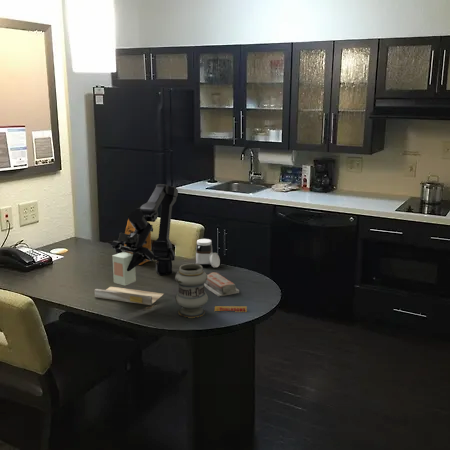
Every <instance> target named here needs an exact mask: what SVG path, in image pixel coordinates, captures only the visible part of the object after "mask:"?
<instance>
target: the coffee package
mask: <svg viewBox="0 0 450 450" xmlns="http://www.w3.org/2000/svg"><path fill="white" fill-rule="evenodd" d="M134 231H135V228H134V227H133V226H132V224H131V223H130V221H129V218H128V219H127V223H126V227H125V231H124V234H130V233H134ZM151 233H152V232H151V231H150V233H149V235H148V237H147V239H146V241H147V243H146V244H144V245H143V246H142V247H145V248H148V249H149V250H150V251H151V252H152V237H151V236H152V234H151ZM123 245H125V244H124V243H123ZM125 246H127V245H125ZM129 250H130V249H129ZM126 252H127V251H126ZM127 253H131V252H127ZM131 254H133V253H131ZM145 260H146V259H145ZM148 262H150V260H146V261H143V262H142V263H140V264H139V265H138V266H141V265H143V264H145V263H148Z"/></svg>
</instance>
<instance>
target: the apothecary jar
mask: <svg viewBox="0 0 450 450" xmlns="http://www.w3.org/2000/svg"><path fill="white" fill-rule="evenodd" d="M203 268H204V267H202V266H201V265H200V264H196V262H195V263H193V262H192V263H191V262H190V263H184V264H182V265H180V266H179V268H178V269H179V270H178V271H177V272H176V273H175V275H174V279H175V281H176V283H177V285H178V286H177V287H178V292H177V293H176V295H175V299H174V301H175V302H176V304H177V305H178V306H179V307H181V308H180V309H179V310H178V311H177V312H178V315H180V317H184V318H186V317H188V319H194V318H195V317H197V318H200V317H203V316H204V315H205V313H206V311H205V308H203V306H204V305H205V306H206V304H207V302H208V300H209V296H208V294H207V293H206V291H205V287H204V282H205V281H206V280H207V275H208V274H207V273H206V271H204V269H203ZM203 314H204V315H203ZM199 316H200V317H199ZM195 319H196V318H195Z"/></svg>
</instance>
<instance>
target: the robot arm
mask: <svg viewBox="0 0 450 450" xmlns="http://www.w3.org/2000/svg"><path fill="white" fill-rule="evenodd" d="M178 196H179V189H178V188H176V186H171V185H168V184H162V183H158V184H155V185H154V190H153V192H152V193H151V195H150V197H149V199H148V200H147V202H146V203H143V204H142V205H141V206H140V207H138V208H137V207H136V208H135V210H134V211H131V213H129V214H128V218H129V221H130V223H131V224H132V226H133V227H134V228H135V231H134V233H130V234H125V232H124V233H123V232H119V236H118V238H117V240H113V241H112V242H111V243H110V245H109V246H110V247H111V248H112V249H113V250H114V251H115V252H116V254H118V253H121V252H126V251H127V252H131V253H133V258H132V260H131V262H130V264H129V266H128V268H127V271H130V270H132V269H133V268H134V267H135V268H136V267H137V266H140V265H139V264H140V263H142V262H143V261H146V260H150V261H151V262H152V261H153V260H154V261H156V262H155V272H156V273H157V274H158V275H159V276H163V275H170V274H171V275H172V274H174V271H173V262H174V261H175V259H176V253H175V251H174V250H173V244H172V242H171V240H170V232H171V231H170V230H171V220H172V211H173V206H174V204H175V203H176V202H177V197H178ZM159 206H161V207H160V216H159V212H158V209H159ZM158 217H160V218H159V227H158V237H157V239H156V240H154V242H153V247H152V248H151V251H150V250H149V249H148V248H145V247H142V246H143V245H144V244H146V243H147V241H146V239H147V237H148V235H149V233H150V232H151V233H153V232H154V228H153V224H151V222H152V223H155V222H156V220H158ZM124 244H125V245H127V246H125V245H124ZM129 249H130V250H129ZM145 259H146V260H145ZM150 261H149V262H150Z"/></svg>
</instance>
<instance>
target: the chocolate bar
mask: <svg viewBox="0 0 450 450" xmlns="http://www.w3.org/2000/svg"><path fill="white" fill-rule="evenodd" d="M247 308H248V306H247V305H246V306H245V305H244V306H243V305H242V306H237V305H236V306H235V305H229V306H227V305H226V306H224V305H222V306H220V305H219V306H218V305H217V306H216V305H215V306H214V312H215V311H235V312H234V313H247V311H248V309H247Z"/></svg>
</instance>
